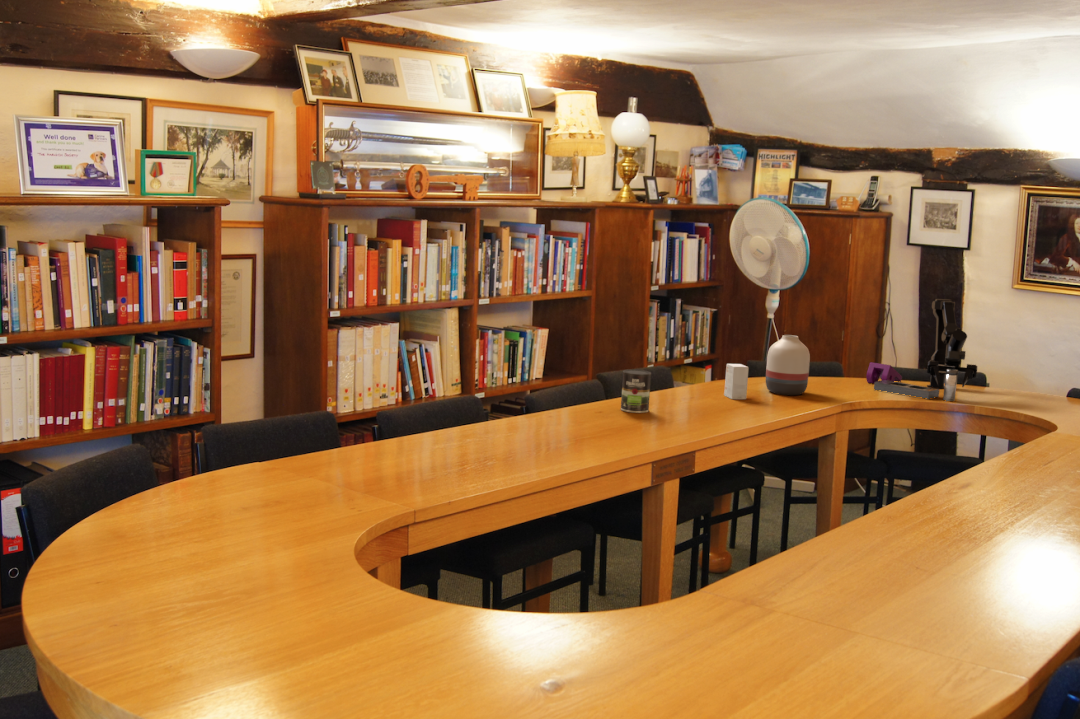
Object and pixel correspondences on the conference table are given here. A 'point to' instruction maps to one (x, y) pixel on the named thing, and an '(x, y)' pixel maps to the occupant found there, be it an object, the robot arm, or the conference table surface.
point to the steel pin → (950, 384)
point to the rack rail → (906, 389)
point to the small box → (736, 381)
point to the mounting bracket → (882, 373)
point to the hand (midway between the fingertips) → (950, 385)
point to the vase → (787, 366)
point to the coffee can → (635, 391)
